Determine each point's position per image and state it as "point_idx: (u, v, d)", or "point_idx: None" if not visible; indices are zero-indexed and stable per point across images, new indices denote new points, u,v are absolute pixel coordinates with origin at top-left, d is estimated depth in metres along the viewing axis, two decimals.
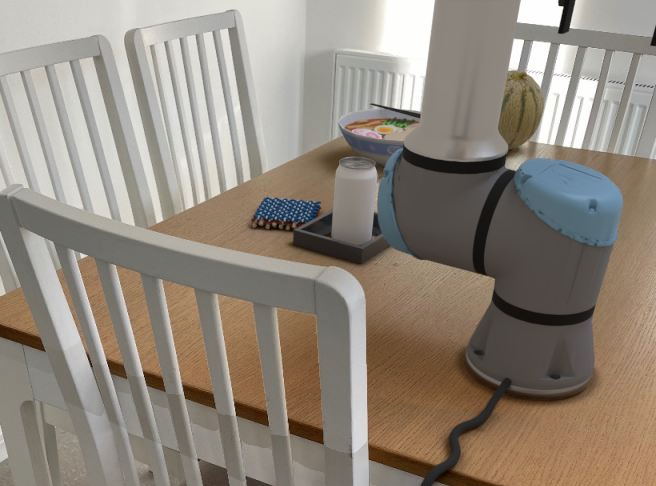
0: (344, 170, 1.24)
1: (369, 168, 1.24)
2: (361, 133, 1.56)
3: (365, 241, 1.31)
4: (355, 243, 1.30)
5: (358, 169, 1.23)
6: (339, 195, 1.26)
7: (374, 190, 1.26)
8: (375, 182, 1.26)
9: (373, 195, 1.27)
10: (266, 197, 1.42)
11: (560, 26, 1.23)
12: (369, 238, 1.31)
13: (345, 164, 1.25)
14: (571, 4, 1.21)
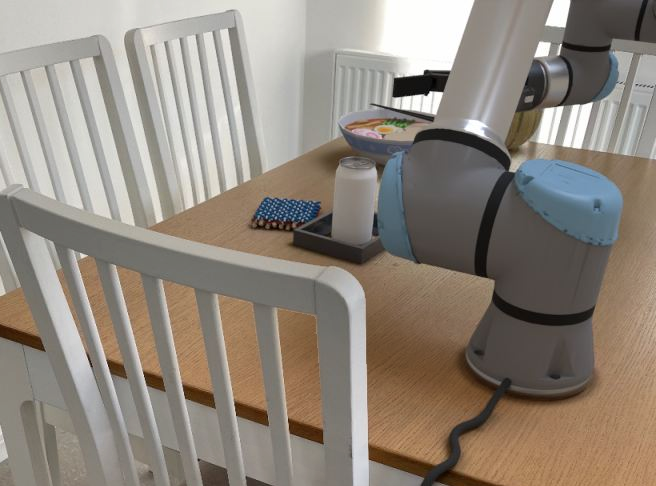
0: (344, 170, 1.24)
1: (369, 168, 1.24)
2: (361, 133, 1.56)
3: (365, 241, 1.31)
4: (355, 243, 1.30)
5: (358, 169, 1.23)
6: (339, 195, 1.26)
7: (374, 190, 1.26)
8: (375, 182, 1.26)
9: (373, 195, 1.27)
10: (266, 197, 1.42)
11: (399, 77, 1.28)
12: (369, 238, 1.31)
13: (345, 164, 1.25)
14: (415, 85, 1.29)
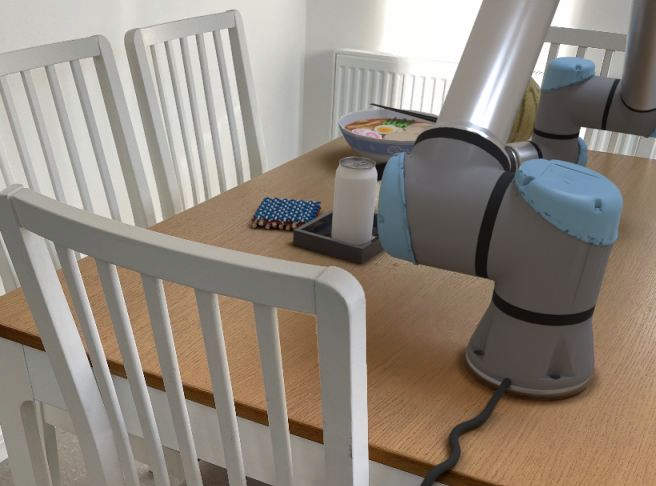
0: (344, 170, 1.24)
1: (369, 168, 1.24)
2: (361, 133, 1.56)
3: (365, 241, 1.31)
4: (355, 243, 1.30)
5: (358, 169, 1.23)
6: (339, 195, 1.26)
7: (374, 190, 1.26)
8: (375, 182, 1.26)
9: (373, 195, 1.27)
10: (266, 197, 1.42)
11: (379, 162, 1.35)
12: (369, 238, 1.31)
13: (345, 164, 1.25)
14: None
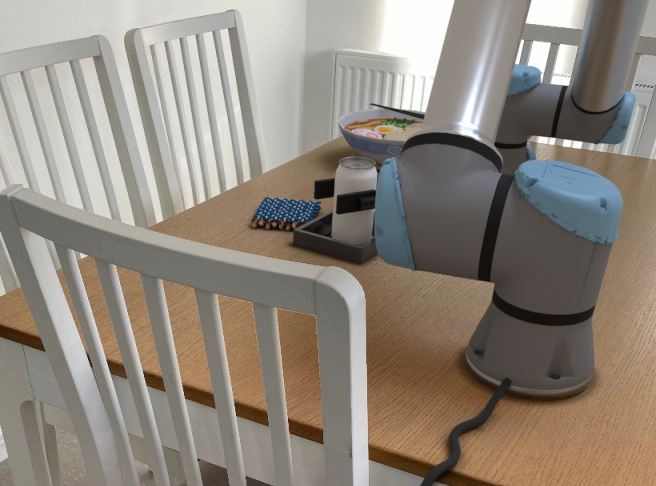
0: (344, 170, 1.24)
1: (369, 168, 1.24)
2: (361, 133, 1.56)
3: (365, 241, 1.31)
4: (355, 243, 1.30)
5: (358, 169, 1.23)
6: None
7: None
8: (375, 182, 1.26)
9: None
10: (266, 197, 1.42)
11: (320, 180, 1.29)
12: (369, 238, 1.31)
13: (345, 164, 1.25)
14: None
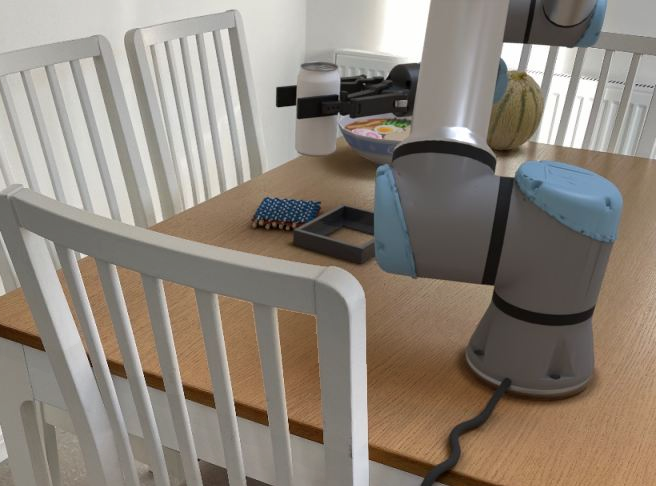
0: (305, 73, 1.20)
1: (331, 70, 1.20)
2: (361, 133, 1.56)
3: (329, 151, 1.27)
4: (318, 153, 1.26)
5: (319, 71, 1.19)
6: None
7: None
8: (338, 87, 1.22)
9: None
10: (266, 197, 1.42)
11: (282, 86, 1.25)
12: (333, 148, 1.27)
13: (306, 68, 1.21)
14: None
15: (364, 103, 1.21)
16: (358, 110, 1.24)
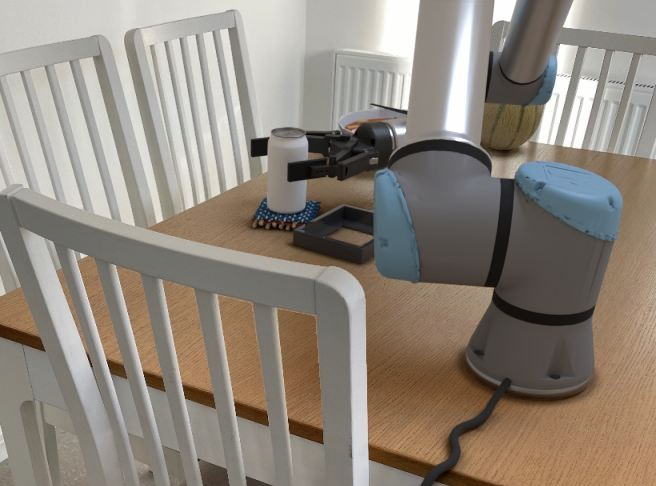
0: (275, 139, 1.29)
1: (299, 137, 1.29)
2: None
3: (298, 209, 1.35)
4: (288, 211, 1.35)
5: (288, 138, 1.28)
6: (271, 163, 1.31)
7: (305, 159, 1.31)
8: (306, 151, 1.31)
9: None
10: (266, 197, 1.42)
11: (256, 138, 1.36)
12: (302, 206, 1.36)
13: (276, 134, 1.30)
14: None
15: (349, 166, 1.28)
16: None
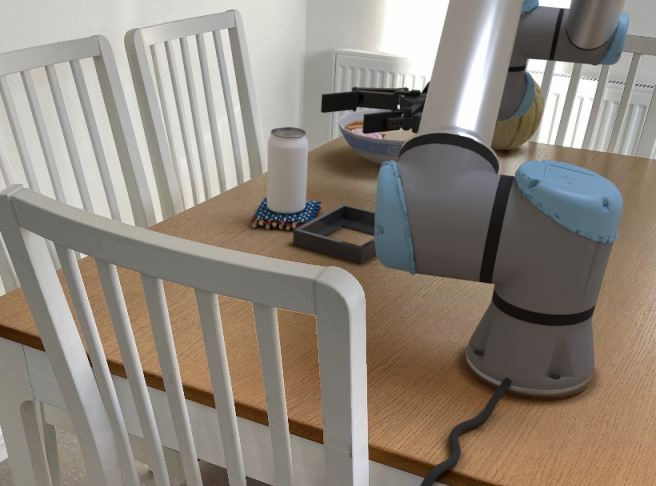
0: (275, 139, 1.29)
1: (299, 137, 1.29)
2: (361, 133, 1.56)
3: (298, 209, 1.35)
4: (288, 211, 1.35)
5: (288, 138, 1.28)
6: (271, 163, 1.31)
7: (305, 159, 1.31)
8: (306, 151, 1.31)
9: (304, 164, 1.32)
10: (266, 197, 1.42)
11: (327, 94, 1.37)
12: (302, 206, 1.36)
13: (276, 134, 1.30)
14: (342, 101, 1.38)
15: None
16: None
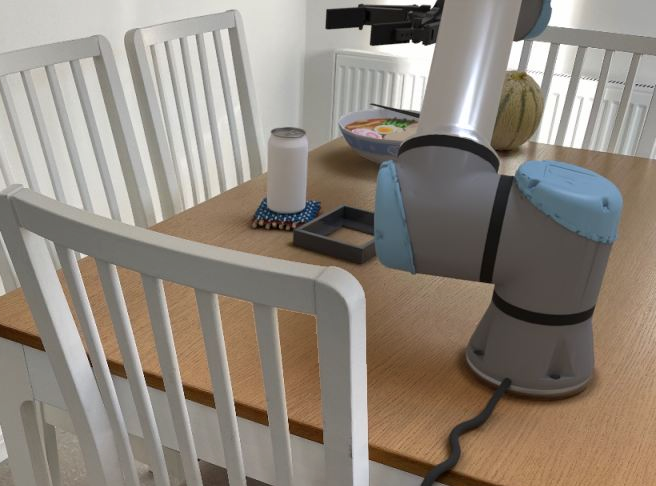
0: (275, 139, 1.29)
1: (299, 137, 1.29)
2: (361, 133, 1.56)
3: (298, 209, 1.35)
4: (288, 211, 1.35)
5: (288, 138, 1.28)
6: (271, 163, 1.31)
7: (305, 159, 1.31)
8: (306, 151, 1.31)
9: (304, 164, 1.32)
10: (266, 197, 1.42)
11: None
12: (302, 206, 1.36)
13: (276, 134, 1.30)
14: (348, 18, 1.30)
15: (436, 29, 1.21)
16: None
